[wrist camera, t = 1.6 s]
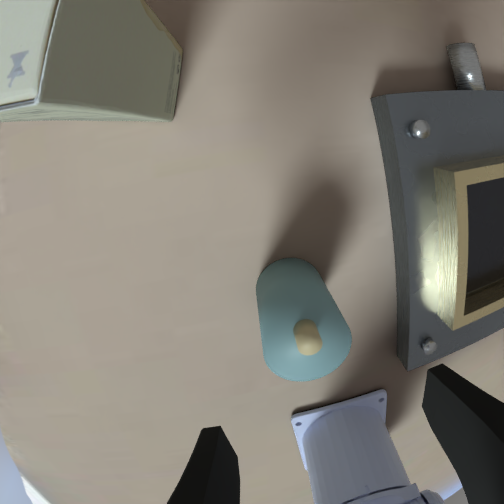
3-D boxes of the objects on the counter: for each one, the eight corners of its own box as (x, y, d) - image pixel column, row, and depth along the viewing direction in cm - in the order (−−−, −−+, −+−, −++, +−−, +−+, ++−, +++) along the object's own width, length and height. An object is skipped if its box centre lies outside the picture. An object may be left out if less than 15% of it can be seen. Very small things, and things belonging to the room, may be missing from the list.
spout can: (325, 308, 20) (361, 384, 13) (264, 323, 20) (276, 406, 13) (315, 250, 18) (356, 313, 12) (248, 267, 19) (255, 340, 12)
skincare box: (185, 48, 14) (99, -81, 3) (173, 126, 16) (46, 107, 4) (81, 53, 14) (-71, -4, 2) (71, 124, 15) (-101, 137, 4)
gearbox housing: (520, 300, 21) (547, 320, 17) (396, 355, 22) (418, 389, 18) (511, 56, 14) (547, 51, 10) (357, 49, 14) (387, 30, 11)
